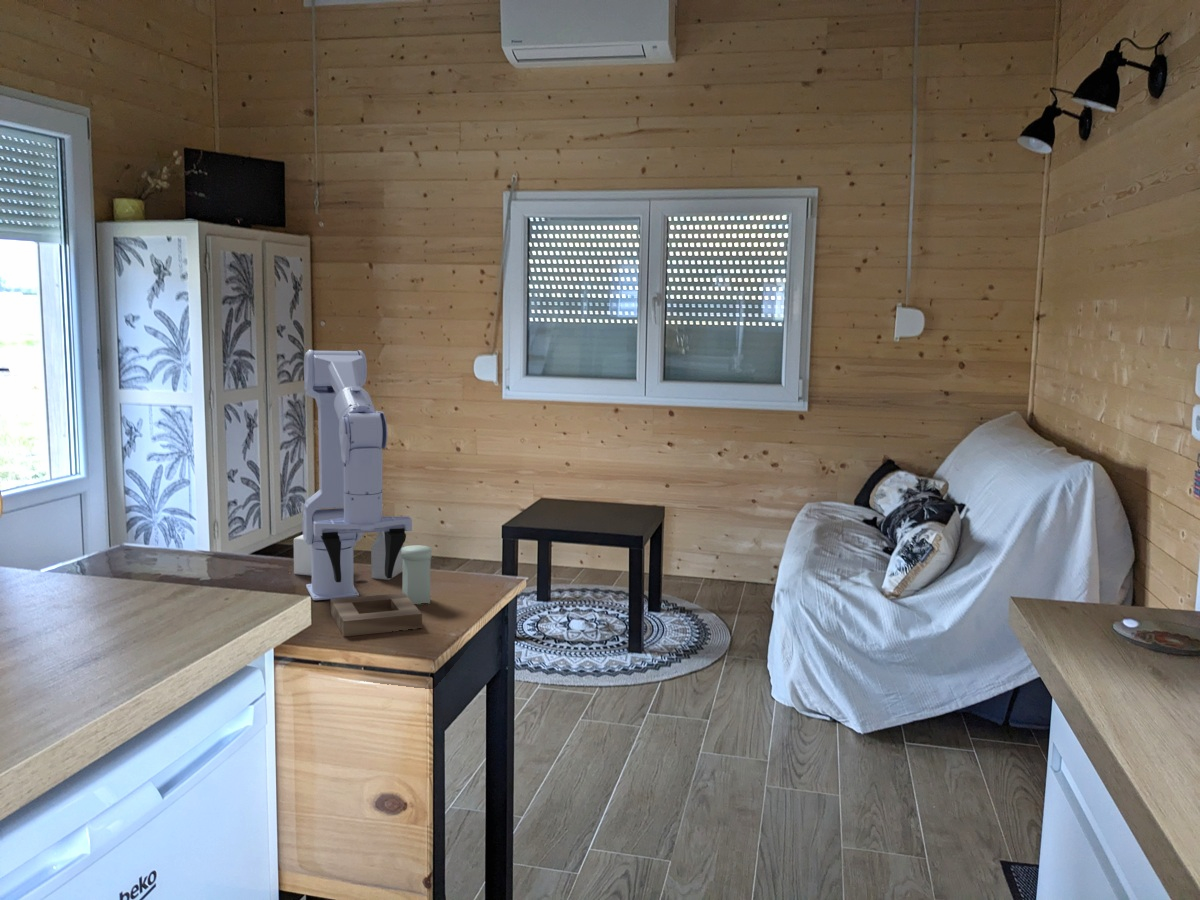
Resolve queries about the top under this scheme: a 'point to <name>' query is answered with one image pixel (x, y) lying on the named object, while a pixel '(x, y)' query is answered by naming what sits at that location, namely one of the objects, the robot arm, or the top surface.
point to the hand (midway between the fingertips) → (363, 578)
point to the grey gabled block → (383, 559)
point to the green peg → (416, 573)
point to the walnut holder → (375, 614)
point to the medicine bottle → (302, 557)
